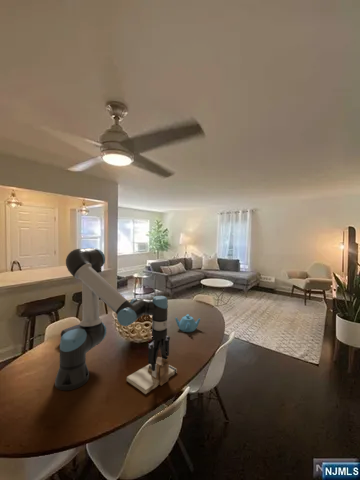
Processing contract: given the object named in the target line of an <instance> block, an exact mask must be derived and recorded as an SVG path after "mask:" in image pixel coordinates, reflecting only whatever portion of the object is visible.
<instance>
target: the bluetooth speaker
mask: <svg viewBox="0 0 360 480" xmlns="http://www.w3.org/2000/svg"><path fill="white" fill-rule="evenodd" d="M74 329H80V323H79V324H76V325H73V326H69V327H67V328H65V329H62V330H61V332H60V338H61V337H62V336H63V334H65V333H66V332H68V331H70V330H74Z"/></svg>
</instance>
